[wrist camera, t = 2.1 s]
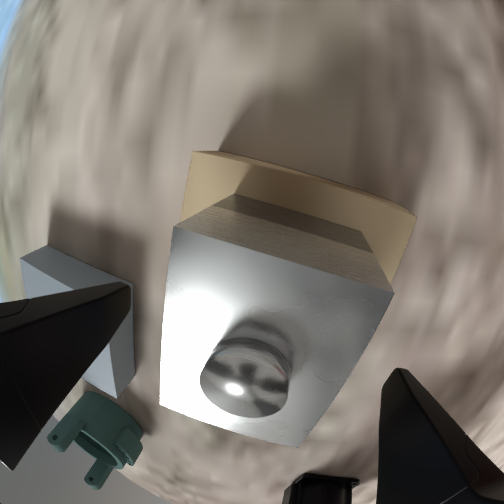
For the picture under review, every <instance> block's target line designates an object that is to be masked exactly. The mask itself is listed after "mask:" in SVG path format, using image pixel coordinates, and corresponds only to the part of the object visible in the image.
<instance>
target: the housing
mask: <svg viewBox="0 0 504 504" xmlns="http://www.w3.org/2000/svg"><path fill="white" fill-rule="evenodd" d="M393 295H394V291H393V289H392V287H391V285H390V283H389V281H388V279H387V277H386V275H385V273H384V271H383V270H382V268H381V266H380V264H379V262H378V260H377V258H376V257H375V255H374V253H373V251H372V249H371V248H370V246H369V244H368V242H367V240H366V239H365V237H364V235H363V234H362V232H361V231H359V230H356V229H353V228H350V227H347V226H344V225H340V224H337V223H334V222H331V221H328V220H325V219H321V218H318V217H315V216H312V215H308V214H305V213H302V212H298V211H295V210H292V209H288V208H285V207H281V206H278V205H274V204H271V203H267V202H264V201H260V200H256V199H253V198H249V197H245V196H242V195H238V194H232V195H230V196H228V197H226V198H224V199H223V200H221V201H219V202H217V203H215V204H213V205H211V206H209V207H208V208H206V209H204V210H202V211H200V212H198V213H196V214H195V215H193V216H191V217H189V218H187V219H186V220H184V221H182V222H180V223H178V224H177V225H175V226H174V227H173V234H172V241H171V249H170V257H169V266H168V275H167V284H166V295H165V306H164V319H163V334H162V352H161V380H160V404H161V405H164V406H166V407H168V408H171V409H173V410H175V411H178V412H180V413H183V414H185V415H188V416H190V417H193V418H196V419H198V420H201V421H204V422H206V423H209V424H212V425H215V426H218V427H221V428H224V429H227V430H230V431H233V432H237V433H240V434H243V435H247V436H250V437H254V438H258V439H262V440H265V441H269V442H273V443H278V444H282V445H286V446H291V447H296V448H298V447H299V445H300V444H301V443H302V442H303V440H304V439H305V438H306V437H307V435H308V434H309V433H310V431H311V430H312V429H313V427H314V426H315V425H316V423H317V422H318V421H319V419H320V418H321V417H322V415H323V414H324V413H325V411H326V410H327V408H328V407H329V405H330V404H331V403H332V401H333V400H334V398H335V397H336V395H337V394H338V392H339V391H340V389H341V388H342V386H343V385H344V383H345V382H346V380H347V378H348V377H349V375H350V374H351V372H352V370H353V369H354V367H355V366H356V364H357V362H358V361H359V359H360V357H361V356H362V354H363V352H364V350H365V349H366V347H367V345H368V343H369V342H370V340H371V338H372V336H373V334H374V333H375V331H376V329H377V327H378V325H379V323H380V321H381V319H382V317H383V316H384V314H385V312H386V310H387V308H388V306H389V304H390V301H391V299H392V297H393Z"/></svg>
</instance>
